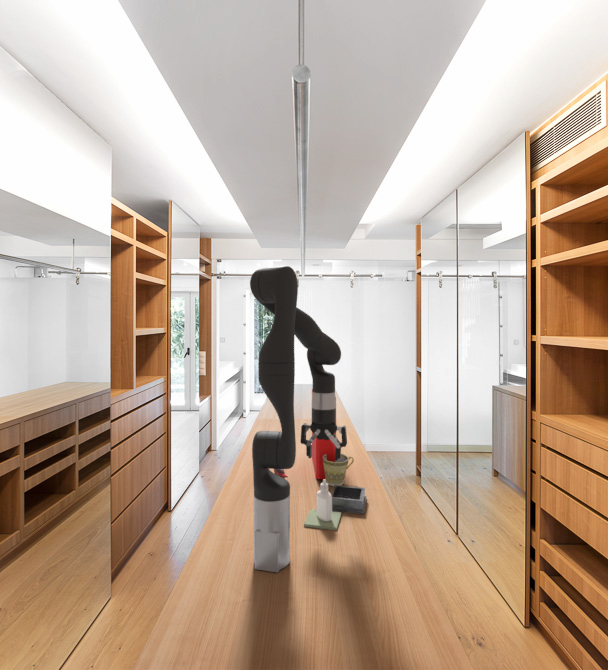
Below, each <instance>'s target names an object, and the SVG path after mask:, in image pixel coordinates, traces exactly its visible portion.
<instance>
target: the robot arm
mask: <svg viewBox="0 0 608 670" xmlns="http://www.w3.org/2000/svg"><path fill="white" fill-rule="evenodd" d="M298 285H299V283H298V277H297V273H296V271H294V269H293V268H292V267H291V266H290V265H279V266H270V267H263V268H259V269H256V270H255V271H254V272H253V273H252V274H251V278H250V281H249V286H250V287H249V288H250V292H251V294H252V295H253V297H254V298H255V299H256V301H257V302H258V303H260V304H261V305H262V306H263V307H264V308H266V309H267V310H268V311H269V312H270V313H271V314H272V315H274V316H273V317H274V318H273V323H272V325H271V327H270V330H269V332H268V334H267V336H266V337H265V340H264V341H263V343H262V346H261V348H260V350H259V353H258V365H257V366H258V369H257V370H258V372H257V373H258V376H257V377H258V383H259V384H260V385H259V386H260V387H261V388H262V390H263V392H264V394H265V396H266V397H267V399H268V400H269V401H270V403H271V405H272V406H273V408H274V410H275V412H276V414H277V417H278V419H279V423H280V427H281V431H278V430H259V431H256V433H255V434H254V436H253V438H252V439H253V440H252V447H251V453H252V455H251V458H252V469H253V470H252V471H253V480H252V481H253V562H254V569H255V570H259V571H264V572H270V573H279V572H280V570H283V569H284V568H286V567H288V565H289V564H290V561H291V484H290V482H289V481H288V480H287V479H286V478H282V477H280V476H277V475H276V474H275V473H274V471H271V470H272V469H273V470H274V469H284V470H289V469H292V468H293V467H294V465H295V463H296V457H297V456H296V453H297V451H296V450H297V447H296V446H297V444H296V443H297V442H296V441H297V440H296V426H295V405H294V403H295V401H294V400H295V376H296V373H295V371H296V369H295V368H296V367H295V364H296V362H295V338H297V340H298V341H299V342H300V344H301V345H302V346H303V347H304V348H305V349H307V350H306V358H307V359H306V360H307V363H308V366H309V370H310V374H311V379H312V389H313V392H312V391H311V424H308V423H303V424H302V425H301V427H300V428H301V430H300V444H301V445H305V446H306V452H305V453H306V454H305V455H306V457H308V459H312V442H313V441H314V439H315V438H317V439H318V440H321V439H324V440H329V439H330V440H331V441H332V442H333V443H334V445H335V446H336V460H338V459H340V457H341V454H342V448H345V447H347V444H348V438H347V436H348V435H347V426H346V425H339V426H338V425H337V396H336V377H335V374H334V373H332V372H330V371H329V372H328V371H326V370H325V368H324V366H334V365H335V366H336V365H337V364H338V363H339V362H340V360H341V358H342V352H341V347H340V346H339V344H338V343H337V342H336V341H335V340H334V339H333V338H331V336H329V335H328V334H327V333H325V332H323V331H322V329H321V327H320V326H319V325H318V324H317V322H316V320H314V318H312V317H311V316H310V315H309V314H308V313H306V312H305V311H303V310H302V309H301V308H298V307H297V305H298V295H299V293H298V292H299V291H298V290H299V287H298ZM309 430H310V431H311V433H312V432H313V435H312V434H311V437H309V440H308V439H307V432H308V431H309ZM337 431H338V432H339V434H341V441H340V440H339V439H338V436H337V434H336V435H335V432H336V433H337ZM270 469H271V470H270Z"/></svg>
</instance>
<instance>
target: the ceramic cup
mask: <svg viewBox="0 0 608 670" xmlns="http://www.w3.org/2000/svg"><path fill="white" fill-rule="evenodd" d="M351 459H352V460H351ZM349 460H351V462H350V463H349ZM354 462H355V460H354V458H353V456H348V455H346V454H343V453H341V457H340V459H338V460H336V461H335V462H330V461H327V457H326V454H325V455H324V456H323V465H324V471H325V478H326V479H325V480H326V483H328V486H332V487H333V486H334V485H339V486H341V485H342V486H343V484H344V483H345V477H346V474H347V471H348V469H349V468H350V467H351V465H352V464H354Z"/></svg>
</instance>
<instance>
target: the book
mask: <svg viewBox="0 0 608 670" xmlns="http://www.w3.org/2000/svg"><path fill="white" fill-rule="evenodd" d="M312 392H313V388H311V393H312ZM312 435H313V432H312V431H311V436H312ZM335 435H336V436H337V431H336V432H335ZM311 445H312V457H311V460H312V465H313V470H314V475H315V479H318V480H323V479H325V480H326V478H325V471H324V465H323V456H324V455H325V454H326V457H327V461H330V462H335V461H336V446H335V445H334V443H333V442H332V441H331V440H330V439H329V440H324V439H321V440H318V439H317V438H315V439H314V441H313V442H312V443H311Z"/></svg>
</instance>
